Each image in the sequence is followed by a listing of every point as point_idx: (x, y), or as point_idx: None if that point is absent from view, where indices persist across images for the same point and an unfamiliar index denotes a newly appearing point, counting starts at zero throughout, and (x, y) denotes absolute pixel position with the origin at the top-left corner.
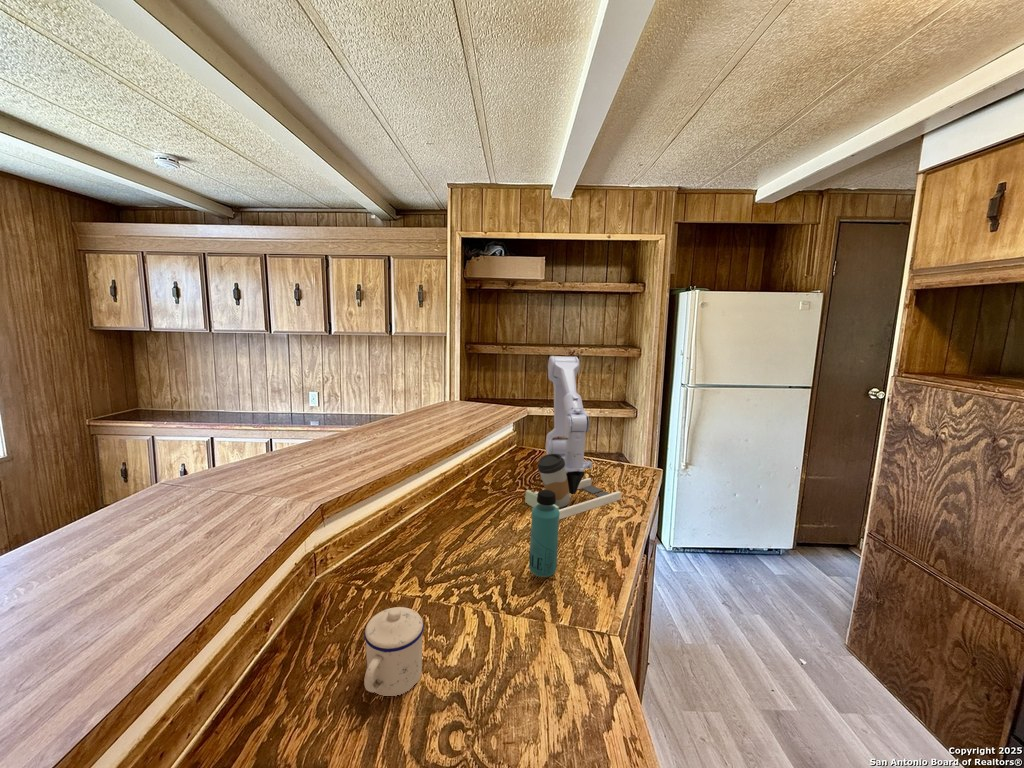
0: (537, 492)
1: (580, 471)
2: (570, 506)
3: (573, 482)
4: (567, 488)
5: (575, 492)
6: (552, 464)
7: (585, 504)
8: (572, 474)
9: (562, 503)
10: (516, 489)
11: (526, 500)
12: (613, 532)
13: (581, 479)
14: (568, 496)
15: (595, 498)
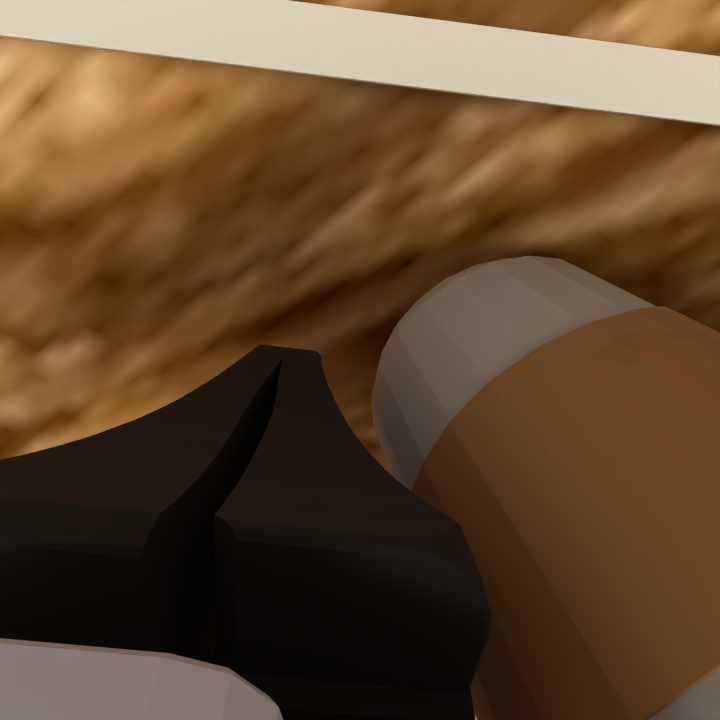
0: None
1: (247, 700)
2: (682, 107)
3: (364, 456)
4: (638, 377)
5: (268, 350)
6: None
7: (376, 14)
8: (348, 676)
9: (612, 284)
10: None
11: None
12: None
13: (87, 438)
14: (534, 298)
15: (56, 38)
